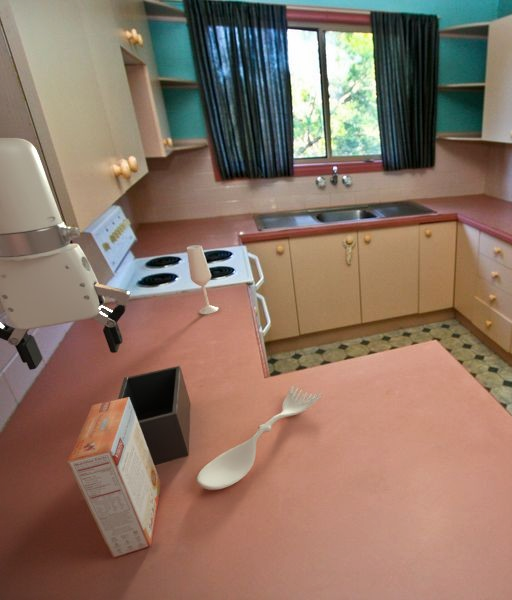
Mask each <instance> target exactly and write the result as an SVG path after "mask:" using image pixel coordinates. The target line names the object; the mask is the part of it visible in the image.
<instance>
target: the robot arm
mask: <svg viewBox="0 0 512 600" xmlns="http://www.w3.org/2000/svg"><path fill="white" fill-rule="evenodd" d="M61 216H62V215H61V214H60V211H59V208H58V205H57V203H56V200H55V197H54V193H53V191H52V188H51V186H50V184H49V180H48V178H47V174H46V171H45V169H44V167H43V164H42V161H41V158H40V155H39V153H38V151H37V148H36V147H35V146H34V145H33V143H31V142H30V141H28V140H26V139H24V138H19V137H0V315H2V314H3V313H5V315H6V317H7V320H8V321H9V323H10V325H11V326H10V325H8V324H6V323H3V322H0V339H1V340H3V341H6V342H7V343H8V344H9V345H11V346H15V347H14V348H15V349H16V351H17V353H18V356H19V358H20V360H21V362H22V363H24V364H26V365H27V368H28V369H29V371H32V370H35V369H37V368H38V367H39V365H40V364H41V363H42V361H43V355H42V353H41V351H40V349H39V346H38V344H37V340H36V339H35V336H34V335H33V334H29V333H28V332H29V331H30V330H34V329H41V328H47V327H52V326H57V325H64V324H70V323H75V322H81V321H85V320H90V319H92V320H94V321H96V322H97V323H100V324H102V325H103V329H102V332H103V335H104V338H105V341H106V344H107V346H108V349H109V352H110V353H112V354H115V353H118V351H119V348H120V345H122V344H123V342H124V341H123V336H122V333H121V330H120V327H119V323H118V321H119V320H120V319H121V318H122V317H123V315H124V314H125V312H126V310H127V306H128V304H129V300H130V297H131V292H130V291H129V290H128V289H123V288H119V287H115V286H110V285H105V284H101V283H99V280H98V278H97V275H96V274H95V272H94V270H93V268H92V265H91V263H90V261H89V259H88V258H87V256H86V254H85V252H84V251H83V249H82V247H81V246H80V244H79V243H71V242H72V240H74V239H78V238H81V231H80V229H79V228H78V227H77V226H75V227H71V226H67V224H66V222H65V221H63V219H62V217H61ZM105 298H109V299H114V300H115V301H116V305H115V307H114V308H113V310H112V309H110V308H108V307H107V306H105V303H106V299H105Z"/></svg>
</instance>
